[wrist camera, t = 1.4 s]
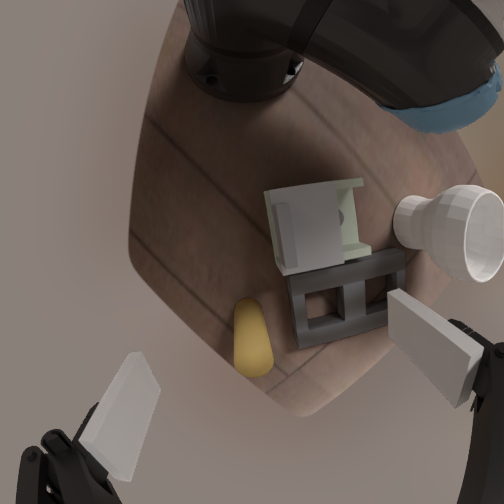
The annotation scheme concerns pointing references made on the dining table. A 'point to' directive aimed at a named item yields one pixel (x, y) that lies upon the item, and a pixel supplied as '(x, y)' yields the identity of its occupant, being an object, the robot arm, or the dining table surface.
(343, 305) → the peg board
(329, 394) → the dining table surface
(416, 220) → the cup
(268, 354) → the peg
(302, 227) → the lid
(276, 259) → the pale green box tray
